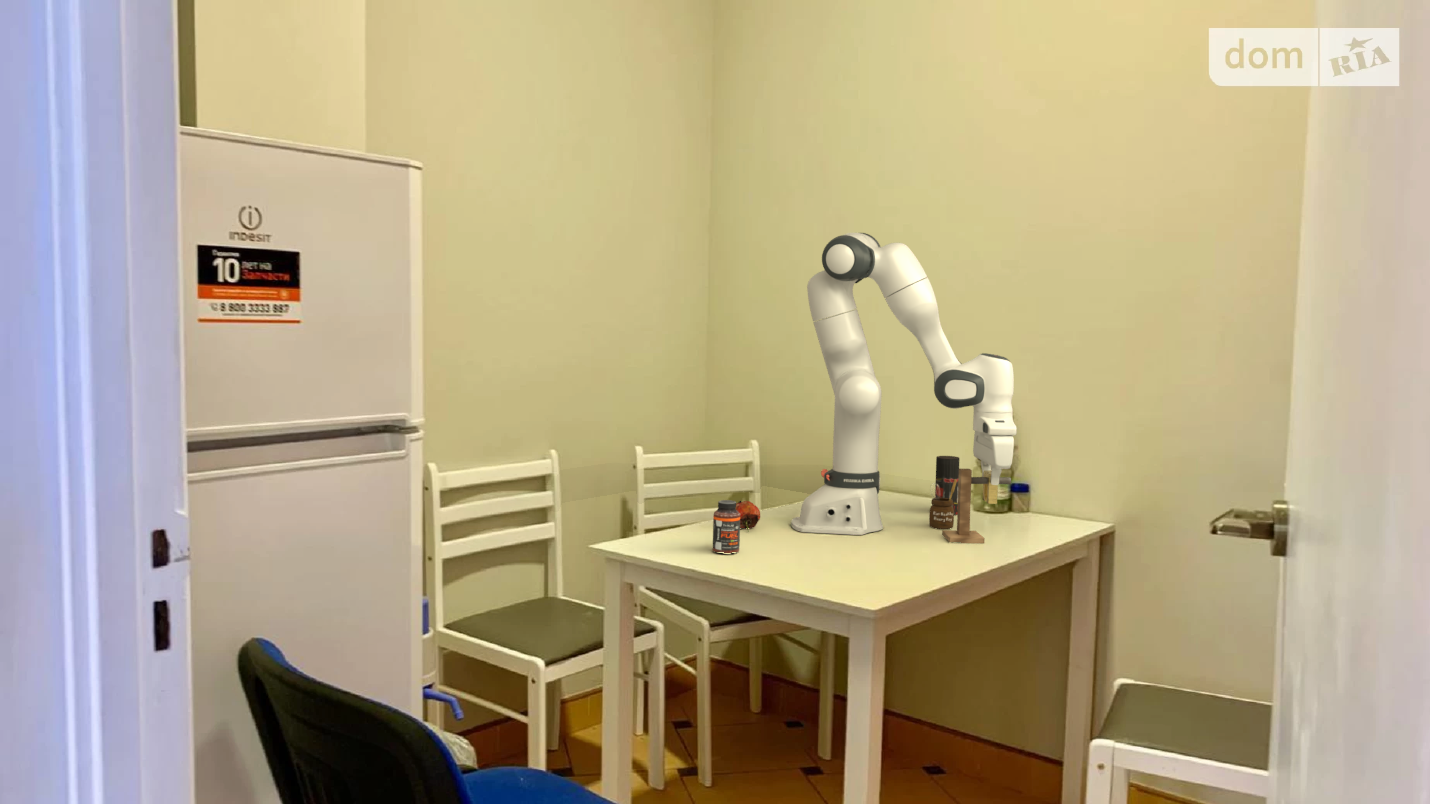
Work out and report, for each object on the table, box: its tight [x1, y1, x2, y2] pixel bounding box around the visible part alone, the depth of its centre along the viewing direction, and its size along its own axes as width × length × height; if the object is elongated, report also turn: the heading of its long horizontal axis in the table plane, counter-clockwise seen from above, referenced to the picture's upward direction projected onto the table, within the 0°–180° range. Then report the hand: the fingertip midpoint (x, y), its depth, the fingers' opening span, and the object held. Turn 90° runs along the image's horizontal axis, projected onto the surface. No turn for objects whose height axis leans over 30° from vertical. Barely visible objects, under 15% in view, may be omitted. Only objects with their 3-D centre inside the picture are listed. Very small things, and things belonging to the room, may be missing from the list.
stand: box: [941, 468, 1012, 544], centre depth 240 cm, size 15×8×17 cm, turn 90°
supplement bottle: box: [712, 499, 741, 553], centre depth 225 cm, size 6×6×11 cm
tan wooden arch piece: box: [982, 470, 999, 505], centre depth 240 cm, size 2×5×7 cm, turn 1°
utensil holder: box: [928, 479, 957, 530], centre depth 253 cm, size 6×6×12 cm
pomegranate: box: [736, 500, 761, 533], centre depth 248 cm, size 7×7×10 cm
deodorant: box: [934, 455, 960, 516], centre depth 270 cm, size 6×6×15 cm
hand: (990, 482), depth 240 cm, fingers closed on tan wooden arch piece, 5 cm apart
